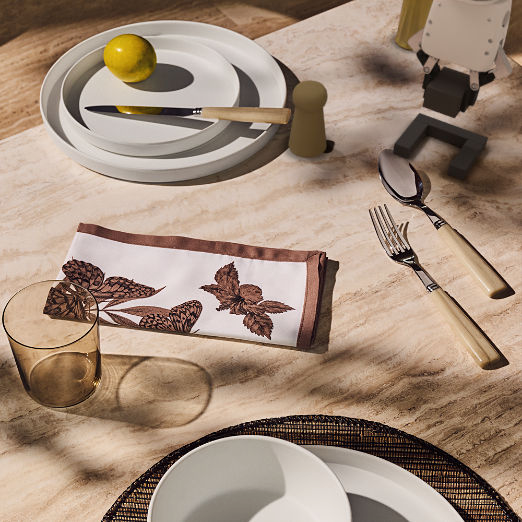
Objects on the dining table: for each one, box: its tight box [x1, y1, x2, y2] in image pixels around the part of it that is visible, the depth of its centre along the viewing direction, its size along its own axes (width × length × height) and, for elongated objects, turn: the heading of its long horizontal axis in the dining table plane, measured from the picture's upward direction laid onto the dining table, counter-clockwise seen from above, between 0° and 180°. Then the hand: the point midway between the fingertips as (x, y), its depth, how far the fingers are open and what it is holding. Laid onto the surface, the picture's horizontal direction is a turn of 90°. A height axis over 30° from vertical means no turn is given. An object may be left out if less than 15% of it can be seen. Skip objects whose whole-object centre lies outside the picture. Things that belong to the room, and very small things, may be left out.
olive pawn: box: [288, 79, 329, 158], centre depth 104 cm, size 6×6×11 cm
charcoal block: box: [421, 65, 470, 119], centre depth 97 cm, size 5×6×4 cm
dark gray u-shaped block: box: [392, 112, 489, 181], centre depth 106 cm, size 12×9×2 cm
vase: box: [394, 0, 433, 51], centre depth 121 cm, size 6×6×14 cm
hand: (447, 99), depth 98 cm, fingers closed on charcoal block, 5 cm apart
